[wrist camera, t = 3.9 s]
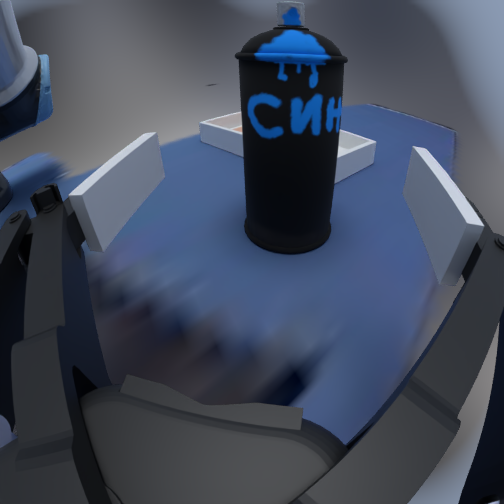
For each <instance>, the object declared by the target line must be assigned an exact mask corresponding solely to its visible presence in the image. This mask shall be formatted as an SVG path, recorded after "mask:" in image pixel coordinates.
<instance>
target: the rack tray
mask: <svg viewBox="0 0 504 504" xmlns="http://www.w3.org/2000/svg"><path fill="white" fill-rule="evenodd" d="M199 127H200V137H201V142H204V143H207V144H209V145H212V146H215V147H218V148H220V149H223V150H226V151H228V152H231V153H234V154H236V155H239V156H241V157H244V156H243V136H242V116H241V112H237V113H233V114H229V115H225V116H221V117H217V118H213V119H210V120H206V121H203V122H199ZM375 147H376V141H373V140H370V139H367V138H364V137H361V136H358V135H355V134H352V133H349V132H346V131H343V130H340V135H339V146H338V156H337V166H336V175H335V183H337V182H339V181H341V180H343V179H345V178H347V177H349V176H350V175H352V174H354V173H356V172H358V171H360V170H362V169H364V168H366V167H367V166H369V165H371V164H373V160H374V154H375ZM335 183H334V184H335Z"/></svg>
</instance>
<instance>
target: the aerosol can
mask: <svg viewBox="0 0 504 504" xmlns="http://www.w3.org/2000/svg"><path fill="white" fill-rule="evenodd" d="M277 24H278V26H285V27H275V28H273V29H274V30H270V31H267V32H264V33H261V34H259V35H257V36H255V37H253V38H251V39H250V40H249V41H248V42H247V43H246V44H245V45H244V46H243V48H242V50H241V52H238V53H236V54H235V57H236V58H237V59H239V75H240V96H241V116H242V136H243V156H244V175H245V195H246V214H247V217H246V219H245V224H244V227H245V232H246V234H247V235H248V237H249V238H250V239H251V240H252V241H253V242H254V243H256V244H257V245H259V246H260V247H263V248H265V249H267V250H271V251H274V252H279V253H301V252H306V251H310V250H313V249H315V248H317V247H319V246H321V245H322V244H323V243H324V242H325V241H326V240H327V239H328V238H329V235H330V233H331V224H330V214H331V207H332V199H333V191H334V183H335V175H336V166H337V156H338V146H339V135H340V123H341V109H342V93H343V75H344V63H346V62H347V61H348V59H347V57H345V56H342V54H341V52H340V51H339V49H338V48H337V47H336V46H335V45H334V43H333V42H332V41H330V40H328V39H327V38H325V37H323V36H321V35H319V34H316V33H314V32H311V31H309V29H308V28H300V27H304V26H305V14H304V4H303V3H300V2H278V3H277Z"/></svg>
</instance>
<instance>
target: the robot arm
mask: <svg viewBox="0 0 504 504" xmlns="http://www.w3.org/2000/svg"><path fill="white" fill-rule="evenodd" d="M52 113H53V103H52V95H51V85H50V73H49V58H48V55H46V54H45V55H38V56H37V54H36V52H35V51H34V50H33V49H32V48H30V47H28V46H23V44H22V41H21V37H20V34H19V30H18V27H17V23H16V20H15V16H14V12H13V8H12V4H11V0H0V142H1V141H3V140H5V139H7V138H8V137H11V136H13V135H15V134H17V133H19V132H21V131H24V130H26V129H28V128H30V127H34V126H36V125H37V124H38V123H40V122H42V121H44V120H46V119H48V118H49V117H50V116H51V115H52ZM164 178H165V174H164V169H163V163H162V158H161V152H160V147H159V141H158V135H157V132H154V133H145V134H143V135H142V136H140V137H139V138H138V139H136V140H135V141H134V142H132V143H131V144H130V145H128V146H127V147H126V148H124V149H123V150H122V151H120V152H119V153H118V154H116V155H115V156H114V157H113V158H111V159H110V160H109V161H107V162H106V163H105V164H104V165H103V166H101V167H100V168H99V169H98V170H96V171H95V172H94V173H93V174H92V175H91V176H89V177H88V178H87V179H86V180H85V181H84V182H82V183H81V184H80V185H79V186H78V187H77V188H76V189H75V190H73V191H72V192H71V193H70V194H69V195H68V196H69V197H68V198H67V199H66V200H65V201H64V202H63V201H62V198H61V195H60V192H59V190H58V187H57V184H55V183H52V184H48V185H45V186H43V187H41V188H39V189H38V190H36V191H35V192H34V193H33V194H32V195H31V197H30V199H31V202H32V204H33V207H34V209H35V211H36V214H37V216H36V217H35V218H31V219H30V217H29V215H28V213H27V211H26V210H20V211H18V212H17V211H16V212H14V213H13V214H12V215H11V216H10V217H9V218H8V219H7V220H6V222H5V223H4V225H3V226H2V228H1V230H0V504H407V503H408V502H409V501H410V500H411V498H412V497H413V496H414V495H415V494H416V492H417V491H418V490H419V488H420V487H421V486H422V485H423V483H424V482H425V480H426V479H427V478H428V477H429V475H430V474H431V472H432V471H433V470H434V468H435V467H436V465H437V464H438V462H439V461H440V459H441V458H442V456H443V455H444V453H445V452H446V450H447V449H448V447H449V445H450V443H451V442H452V441H453V439H454V437H455V436H456V434H457V432H458V430H459V427H460V423H461V421H460V420H459V419H457V416H458V414H459V412H460V410H461V407H462V406H463V404H464V402H465V400H466V398H467V396H468V394H469V392H470V390H471V388H472V386H473V384H474V382H475V380H476V378H477V376H478V373H479V371H480V369H481V367H482V365H483V362H484V360H485V357H486V355H487V353H488V350H489V348H490V345H491V342H492V340H493V337H494V334H495V332H496V329H497V326H498V323H499V336H498V347H497V357H496V365H495V372H494V378H493V384H492V390H491V395H490V400H489V405H488V410H487V414H486V418H485V422H484V426H483V430H482V433H481V437H480V440H479V444H478V447H477V450H476V453H475V456H474V459H473V462H472V465H471V468H470V470H469V473H468V476H467V479H466V482H465V485H464V487H463V490H462V493H461V496H460V500H459V503H458V504H504V237H503V236H501V235H499V234H496V233H493V232H492V230H491V229H490V227H489V225H488V224H487V222H486V221H485V219H483V216H482V215H481V214H480V213H479V211H478V209H477V208H476V207H475V205H474V204H473V203H472V202H471V201H469V199H467V198H466V197H464V195H463V194H462V193H461V191H460V190H459V189H458V187H457V186H456V185H455V183H454V182H453V181H452V179H451V178H450V177H449V176H448V174H447V173H446V172H445V171H444V169H443V168H442V167H441V166H440V165H439V163H438V162H437V161H436V160H435V159H434V157H433V156H432V155H431V154H430V153H429V152H428V150H427V149H425V148H420V147H415V146H413V147H412V153H411V157H410V162H409V167H408V172H407V176H406V180H405V185H404V189H403V193H402V194H403V196H404V198H405V200H406V202H407V205H408V207H409V209H410V211H411V214H412V216H413V218H414V220H415V223H416V225H417V227H418V230H419V232H420V235H421V237H422V240H423V242H424V245H425V247H426V250H427V252H428V255H429V258H430V260H431V263H432V266H433V269H434V272H435V274H436V277H437V280H438V283H439V285H448V286H455V285H456V284H457V282H458V280H459V278H460V276H461V274H462V275H463V278H464V280H465V283H464V285H463V287H462V288H461V290H460V292H459V293H458V295H457V297H456V298H455V300H454V302H453V305H452V306H451V308H450V310H449V312H448V313H447V315H446V317H445V319H444V320H443V322H442V324H441V325H440V327H439V328H438V330H437V332H436V333H435V335H434V336H433V338H432V339H431V341H430V343H429V344H428V346H427V347H426V349H425V350H424V352H423V353H422V355H421V356H420V357H419V359H418V360H417V362H416V363H415V365H414V366H413V367H412V369H411V370H410V371H409V373H408V374H407V375H406V377H405V378H404V379H403V381H402V382H401V383H400V385H399V386H398V387H397V389H396V390H395V391H394V392H393V394H392V395H391V396H390V397H389V399H388V400H387V401H386V402H385V403H384V405H383V406H382V407H381V408H380V409H379V410H378V412H377V413H376V414H375V415H374V416H373V417H372V418H371V420H370V421H369V422H368V423H367V424H366V425H365V426H364V427H363V428H362V429H361V430H360V431H359V432H358V433H357V434H356V435H355V436H354V437H353V438H352V439H351V440H350V441H349V442H348V443H347V444H346V445H344V444H343V443H342V442H341V441H340V440H339V439H338V438H337V437H336V436H335V435H333V434H332V433H331V432H330V431H328V430H326V429H325V428H323V427H322V426H320V425H318V424H316V423H313V422H311V421H309V420H306V419H303V418H302V414H303V408H297V407H287V406H278V405H270V404H262V403H246V404H232V405H211V406H210V405H203V404H201V403H199V402H197V401H195V400H193V399H191V398H189V397H187V396H185V395H183V394H181V393H179V392H177V391H175V390H174V389H172V388H170V387H168V386H166V385H164V384H161V383H157V382H153V381H150V380H146V379H142V378H139V377H136V376H132V375H129V374H127V375H126V378H125V380H124V383H123V384H118V385H112V384H111V382H110V380H109V377H108V374H107V370H106V367H105V363H104V359H103V355H102V351H101V347H100V343H99V339H98V334H97V330H96V325H95V320H94V315H93V310H92V304H91V298H90V292H89V286H88V280H87V272H86V265H85V256H84V251H83V249H82V247H81V244H82V243H83V242H84V241H85V239H86V242H87V244H88V246H89V249H90V251H97V252H104V251H105V250H106V248H107V247H108V246H109V244H110V243H111V242H112V240H113V239H114V238H115V237H116V235H117V234H118V233H119V231H120V230H121V229H122V228H123V226H124V225H125V224H126V223H127V221H128V220H129V219H130V218H131V216H132V215H133V214H134V213H135V211H136V210H137V209H138V208H139V207H140V205H141V204H142V203H143V202H144V201H145V199H146V198H147V197H148V196H149V195H150V194H151V192H152V191H153V190H154V189H155V188H156V187H157V186H158V184H159V183H160V182H161V181H162V180H163V179H164ZM12 195H13V191H12V189H11V186H10V184H9V182H8V180H7V179H6V178H5V177H4V175H3V174H2V173H1V172H0V211H1V210H2V209H3V208H4V207H5V206H6V205H7V203H8V202H9V201H10V199H11V198H12ZM18 254H19V256H20V257H21V259H22V261H23V262H22V264H21V262H20V260H19V258H18ZM15 422H16V429H17V436H18V437H17V436H16V435H15V434H13V433H12V432H13V429H14V425H15Z"/></svg>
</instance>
